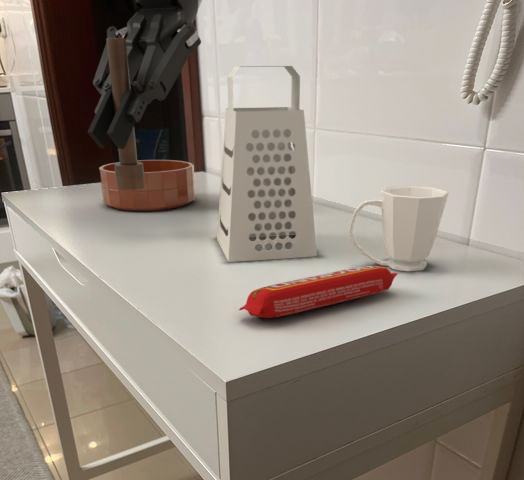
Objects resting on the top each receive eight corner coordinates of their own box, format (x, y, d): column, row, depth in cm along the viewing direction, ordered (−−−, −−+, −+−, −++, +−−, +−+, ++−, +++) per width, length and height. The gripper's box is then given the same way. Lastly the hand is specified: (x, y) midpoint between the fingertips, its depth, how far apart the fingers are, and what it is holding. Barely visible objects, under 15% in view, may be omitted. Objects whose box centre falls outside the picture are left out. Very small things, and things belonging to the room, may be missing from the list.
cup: (444, 276, 59) (455, 197, 55) (348, 273, 59) (353, 196, 56) (432, 256, 65) (442, 185, 61) (346, 255, 66) (350, 184, 62)
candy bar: (374, 284, 56) (377, 255, 55) (400, 295, 53) (403, 265, 52) (234, 317, 49) (233, 284, 48) (256, 331, 46) (255, 297, 45)
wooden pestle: (115, 186, 74) (98, 39, 66) (143, 184, 75) (129, 39, 67) (118, 190, 71) (101, 37, 63) (147, 189, 72) (133, 37, 64)
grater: (317, 256, 65) (323, 65, 57) (228, 262, 64) (221, 65, 55) (294, 234, 75) (297, 67, 66) (216, 238, 73) (209, 67, 64)
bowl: (100, 197, 99) (96, 162, 96) (185, 192, 103) (182, 158, 101) (108, 215, 86) (103, 175, 83) (204, 208, 90) (202, 169, 88)
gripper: (233, 16, 73) (173, 164, 67) (138, 21, 79) (74, 157, 73) (212, -39, 67) (142, 120, 61) (110, -30, 73) (37, 116, 66)
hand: (105, 140), depth 67 cm, fingers closed on wooden pestle, 2 cm apart
